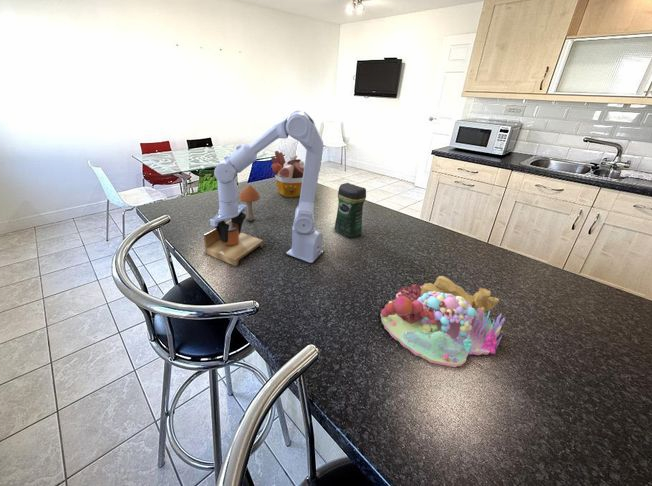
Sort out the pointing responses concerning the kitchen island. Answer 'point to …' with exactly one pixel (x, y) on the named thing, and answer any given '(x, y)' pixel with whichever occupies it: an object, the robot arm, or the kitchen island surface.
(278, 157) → the bucket of meat
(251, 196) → the mushroom
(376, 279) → the kitchen island surface
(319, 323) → the kitchen island surface
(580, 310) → the kitchen island surface
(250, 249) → the shelf
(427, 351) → the candy landscape model
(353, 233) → the coffee jar
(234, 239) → the pot
